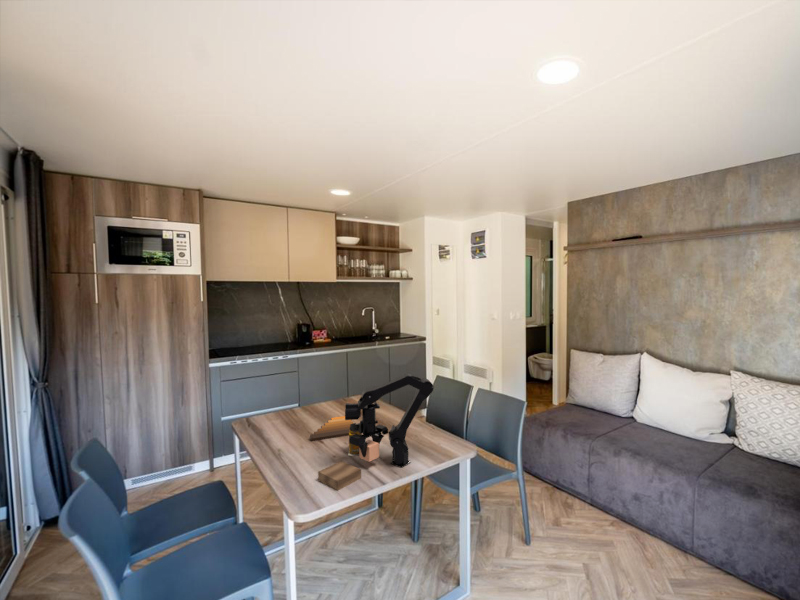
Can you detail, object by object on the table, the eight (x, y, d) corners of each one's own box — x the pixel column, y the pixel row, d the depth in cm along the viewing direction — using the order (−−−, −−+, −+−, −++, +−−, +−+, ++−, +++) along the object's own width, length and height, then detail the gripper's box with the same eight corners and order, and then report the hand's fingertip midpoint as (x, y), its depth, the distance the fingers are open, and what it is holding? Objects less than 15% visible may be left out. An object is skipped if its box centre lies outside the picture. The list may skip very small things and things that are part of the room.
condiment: (348, 449, 176) (348, 424, 176) (366, 448, 177) (366, 423, 176) (348, 456, 169) (347, 430, 168) (366, 455, 169) (366, 429, 169)
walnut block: (361, 479, 148) (361, 469, 148) (338, 491, 139) (338, 481, 139) (341, 470, 156) (341, 460, 156) (318, 481, 147) (318, 471, 147)
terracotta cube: (379, 456, 159) (379, 443, 159) (369, 461, 155) (369, 447, 155) (369, 453, 163) (369, 439, 163) (359, 457, 159) (359, 444, 158)
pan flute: (311, 442, 185) (359, 435, 195) (311, 436, 185) (359, 428, 195) (304, 426, 208) (347, 420, 218) (304, 420, 208) (347, 414, 218)
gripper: (370, 409, 171) (371, 442, 171) (340, 420, 157) (340, 456, 157) (388, 414, 164) (389, 449, 164) (358, 426, 150) (358, 464, 150)
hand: (369, 454), depth 159 cm, fingers closed on terracotta cube, 6 cm apart
